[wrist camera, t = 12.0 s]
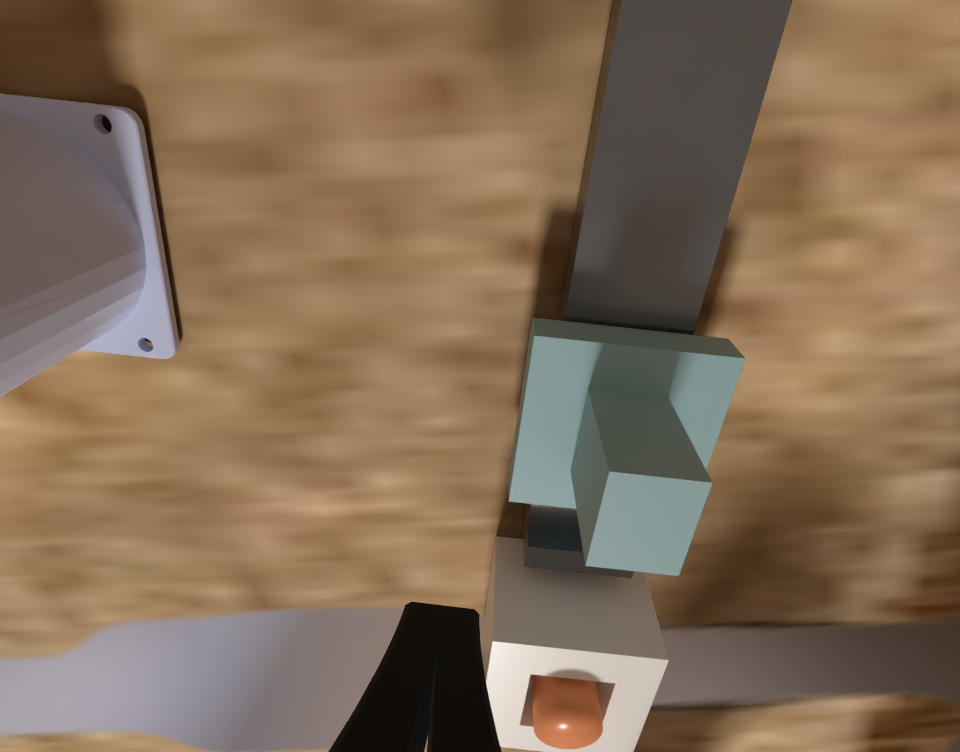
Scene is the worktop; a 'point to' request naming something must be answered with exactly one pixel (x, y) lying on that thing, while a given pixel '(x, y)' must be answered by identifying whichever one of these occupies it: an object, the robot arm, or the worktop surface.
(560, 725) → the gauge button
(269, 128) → the worktop surface
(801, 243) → the worktop surface
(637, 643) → the white button housing
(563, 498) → the carriage
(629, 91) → the rail
